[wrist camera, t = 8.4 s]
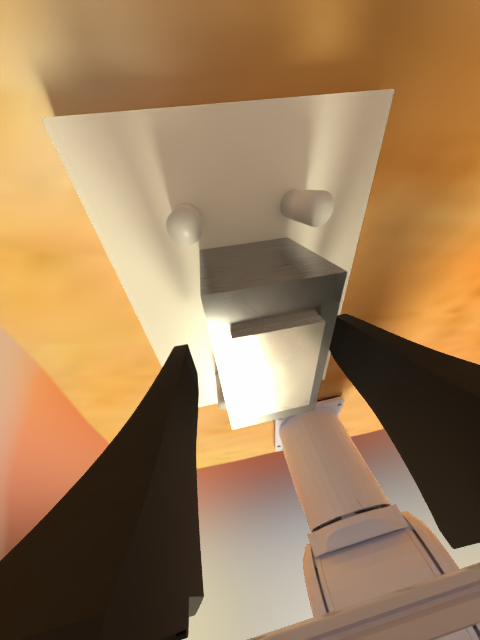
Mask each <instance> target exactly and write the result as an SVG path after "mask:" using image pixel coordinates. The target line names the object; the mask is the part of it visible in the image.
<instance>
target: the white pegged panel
mask: <svg viewBox="0 0 480 640" xmlns="http://www.w3.org/2000/svg"><path fill="white" fill-rule="evenodd" d="M394 91H395V89H383V90H371V91H359V92H347V93H335V94H323V95H311V96H299V97H286V98H274V99H262V100H250V101H238V102H226V103H214V104H202V105H189V106H177V107H165V108H153V109H141V110H129V111H117V112H105V113H92V114H80V115H68V116H56V117H44V118H41V120H42V122H43V124H44V126H45V128H46V131H47V133H48V135H49V137H50V139H51V141H52V143H53V145H54V147H55V149H56V151H57V153H58V155H59V157H60V159H61V161H62V163H63V165H64V167H65V169H66V171H67V174H68V176H69V178H70V180H71V182H72V184H73V186H74V188H75V190H76V192H77V194H78V196H79V198H80V200H81V202H82V204H83V206H84V208H85V210H86V212H87V214H88V217H89V219H90V221H91V223H92V225H93V227H94V229H95V231H96V233H97V235H98V237H99V239H100V241H101V243H102V245H103V247H104V249H105V251H106V253H107V255H108V257H109V260H110V262H111V264H112V266H113V268H114V270H115V272H116V274H117V276H118V278H119V280H120V282H121V284H122V286H123V288H124V290H125V292H126V294H127V296H128V298H129V300H130V303H131V305H132V307H133V309H134V311H135V313H136V315H137V317H138V319H139V321H140V323H141V325H142V327H143V329H144V331H145V333H146V335H147V337H148V339H149V341H150V343H151V346H152V348H153V350H154V352H155V354H156V356H157V358H158V360H159V362H160V364H161V366H162V367H163V365H164V364H165V362H166V360H167V358H168V356H169V355H170V353H171V351H172V349H173V348H174V346H179V345H184V344H188V346H189V349H190V352H191V355H192V358H193V361H194V364H195V367H196V370H197V373H198V387H199V401H198V407H202V406H207V405H211V404H216V403H218V407H219V408H221V409H227V406H226V402H225V397H224V393H223V389H222V385H221V380H220V376H219V372H218V368H217V364H216V359H215V355H214V351H213V347H212V343H211V338H210V334H209V330H208V326H207V321H206V317H205V313H204V309H203V305H202V300H201V296H200V258H199V250H203V249H210V248H217V247H224V246H231V245H238V244H245V243H252V242H259V241H266V240H273V239H280V238H287V237H288V238H290V239H291V240H293V241H295V242H297V243H298V244H300V245H302V246H304V247H305V248H307V249H309V250H311V251H312V252H314V253H316V254H318V255H319V256H321V257H323V258H325V259H326V260H328V261H330V262H332V263H333V264H335V265H337V266H339V267H340V268H342V269H344V270H346V271H347V276H346V280H345V284H344V288H343V293H342V297H341V301H340V305H339V310H338V314H337V315H340V314H341V310H342V306H343V301H344V297H345V293H346V289H347V285H348V281H349V277H350V273H351V268H352V264H353V260H354V256H355V252H356V248H357V244H358V240H359V235H360V231H361V227H362V223H363V219H364V215H365V211H366V207H367V202H368V198H369V194H370V190H371V186H372V182H373V178H374V173H375V169H376V165H377V161H378V157H379V153H380V149H381V145H382V140H383V136H384V132H385V128H386V124H387V120H388V116H389V112H390V107H391V103H392V99H393V95H394ZM330 355H331V352H330V350H329V352H328V356H327V360H326V364H325V369H324V373H323V377H322V380H325V376H326V372H327V367H328V363H329V359H330Z"/></svg>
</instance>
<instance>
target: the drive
mask: <svg viewBox="0 0 480 640" xmlns="http://www.w3.org/2000/svg"><path fill="white" fill-rule="evenodd" d="M199 258H200V296H201V300H202V305H203V309H204V313H205V317H206V321H207V326H208V330H209V334H210V338H211V343H212V347H213V351H214V355H215V359H216V364H217V368H218V372H219V376H220V380H221V385H222V389H223V393H224V397H225V402H226V406H227V410H228V414H229V418H230V423H231V427H232V430H233V429H237V428H242V427H246V426H250V425H255V424H259V423H263V422H268V421H272V420H276V419H281V418H285V417H289V416H294V415H298V414H302V413H307V412H311V411H315V407H316V403H317V398H318V394H319V390H320V386H321V381H322V377H323V373H324V369H325V364H326V360H327V356H328V352H329V348H330V343H331V339H332V335H333V331H334V326H335V322H336V318H337V314H338V310H339V305H340V301H341V297H342V293H343V288H344V284H345V280H346V276H347V271H346V270H344V269H342V268H340V267H339V266H337V265H335V264H333V263H332V262H330V261H328V260H326V259H325V258H323V257H321V256H319V255H318V254H316V253H314V252H312V251H311V250H309V249H307V248H305V247H304V246H302V245H300V244H298V243H297V242H295V241H293V240H291V239H290V238H288V237H287V238H280V239H273V240H266V241H259V242H252V243H245V244H238V245H231V246H224V247H217V248H210V249H203V250H199Z"/></svg>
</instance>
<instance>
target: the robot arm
mask: <svg viewBox="0 0 480 640" xmlns="http://www.w3.org/2000/svg"><path fill="white" fill-rule="evenodd" d="M329 350H330V352H331V354H332V356H333V358H334V359H335V361H336V363H337V364H338V365H339V367H340V368H341V369H342V371H343V372H344V373H345V375H346V376H347V377H348V379H349V380H350V381H351V383H352V384H353V385H354V386H355V388H356V389H357V390H358V392H359V393H360V394H361V395H362V397H363V398H364V399H365V401H366V402H367V403H368V405H369V406H370V407H371V409H372V410H373V412H374V413H375V415H376V416H377V418H378V419H379V421H380V422H381V424H382V426H383V427H384V429H385V430H386V432H387V433H388V435H389V437H390V438H391V440H392V442H393V443H394V445H395V447H396V449H397V450H398V452H399V454H400V455H401V457H402V459H403V461H404V462H405V464H406V466H407V468H408V469H409V471H410V473H411V475H412V477H413V479H414V480H415V482H416V484H417V486H418V488H419V490H420V492H421V494H422V496H423V498H424V500H425V502H426V503H427V505H428V507H429V509H430V511H431V513H432V515H433V517H434V520H435V522H436V524H437V526H438V528H439V530H440V531H441V533H442V534H443V536H444V537H445V539H446V540H447V541H448V543H449V544H450V545H451V547H452V548H453V549H456V548H460V547H464V546H468V545H472V544H476V543H480V365H478V364H475V363H472V362H469V361H465V360H462V359H459V358H456V357H453V356H450V355H447V354H444V353H441V352H438V351H436V350H433V349H430V348H427V347H425V346H422V345H420V344H417V343H415V342H412V341H409V340H407V339H405V338H402V337H400V336H397V335H395V334H393V333H390V332H388V331H386V330H383V329H381V328H379V327H376V326H374V325H372V324H370V323H367V322H365V321H363V320H360V319H358V318H355V317H353V316H350V315H348V314H342V315H337V318H336V322H335V326H334V331H333V335H332V339H331V343H330V348H329ZM198 401H199V387H198V373H197V370H196V367H195V364H194V361H193V358H192V355H191V352H190V349H189V346H188V344H184V345H179V346H174V348H173V349H172V351H171V353H170V355H169V356H168V358H167V360H166V362H165V364H164V365H163V367H162V369H161V371H160V373H159V374H158V376H157V378H156V379H155V381H154V383H153V384H152V386H151V387H150V389H149V391H148V392H147V394H146V395H145V397H144V398H143V400H142V401H141V403H140V404H139V406H138V407H137V409H136V410H135V411H134V413H133V414H132V416H131V417H130V418H129V420H128V421H127V423H126V424H125V425H124V426H123V428H122V429H121V430H120V432H119V433H118V434H117V436H116V437H115V438H114V439H113V441H112V442H111V443H110V444H109V445H108V447H107V448H106V449H105V450H104V452H103V453H102V454H101V455H100V457H99V458H98V459H97V460H96V461H95V462H94V463H93V465H92V466H91V467H90V468H89V469H88V470H87V472H86V473H85V474H84V475H83V476H82V477H81V478H80V479H79V481H78V482H77V483H76V484H75V485H74V486H73V487H72V488H71V489H70V490H69V491H68V492H67V493H66V495H65V496H64V497H63V498H62V499H61V500H60V501H59V502H58V503H57V504H56V505H55V506H54V507H53V509H52V510H51V511H50V512H49V513H48V514H47V515H46V516H45V517H44V518H43V519H42V520H41V521H40V522H39V523H38V524H37V525H36V526H35V527H34V528H33V529H32V530H31V531H30V532H29V533H28V534H27V535H26V536H25V537H24V538H23V539H22V540H21V541H20V542H19V543H18V544H17V545H16V546H15V547H14V548H13V549H12V550H11V551H10V552H9V553H8V554H7V555H6V556H5V557H4V558H3V559H2V560H1V561H0V640H182V639H185V638H187V637H188V626H189V625H188V624H189V617H190V616H194V615H195V614H196V612H197V610H198V608H199V606H200V604H201V602H202V600H203V597H204V593H203V580H202V565H201V551H200V535H199V518H198V497H197V471H196V437H197V419H198ZM343 403H344V399H343V397H336V398H332V399H327V400H323V401H319V402H317V403H316V407H315V411H311V412H307V413H302V414H298V415H294V416H289V417H285V418H281V419H276V420H275V435H274V448H275V451H281V450H283V452H284V455H285V459H286V462H287V465H288V468H289V471H290V474H291V477H292V480H293V483H294V487H295V490H296V493H297V496H298V499H299V502H300V504H301V507H302V509H303V510H304V512H305V515H306V517H307V521H308V524H309V527H310V530H311V532H312V533H309V534H308V538H309V541H310V544H307V545H306V547H305V554H304V558H303V569H304V576H305V582H306V587H307V592H308V596H309V600H310V605H311V608H312V612H313V616H314V618H311V619H308V620H305V621H302V622H299V623H296V624H293V625H290V626H287V627H284V628H281V629H278V630H275V631H272V632H269V633H266V634H263V635H260V636H257V637H254V638H251V639H248V640H480V563H477V564H474V565H471V566H468V567H465V568H462V569H459V568H458V566H457V565H456V563H455V562H454V560H453V559H452V558H451V556H450V555H449V553H448V552H447V551H446V549H445V548H444V547H443V545H442V544H441V543H440V541H439V540H438V539H437V538H436V536H435V535H434V534H433V533H432V531H431V530H430V529H429V528H428V527H427V526H426V525H425V524H424V523H423V522H422V521H421V520H420V519H418V518H416V517H414V516H413V515H411V514H410V513H409V512H402V513H401V512H400V511H399V509H398V507H397V506H396V505H395V504H394V505H391V504H390V502H389V500H388V499H387V497H386V495H385V494H384V492H383V490H382V489H381V487H380V486H379V484H378V482H377V481H376V479H375V477H374V476H373V474H372V472H371V471H370V469H369V467H368V466H367V464H366V462H365V461H364V459H363V457H362V456H361V454H360V453H359V451H358V450H357V448H356V446H355V444H354V443H353V441H352V439H351V438H350V436H349V434H348V433H347V431H346V429H345V428H344V426H343V424H342V423H341V421H340V420H339V418H338V417H339V414H340V411H341V409H342V406H343Z"/></svg>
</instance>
